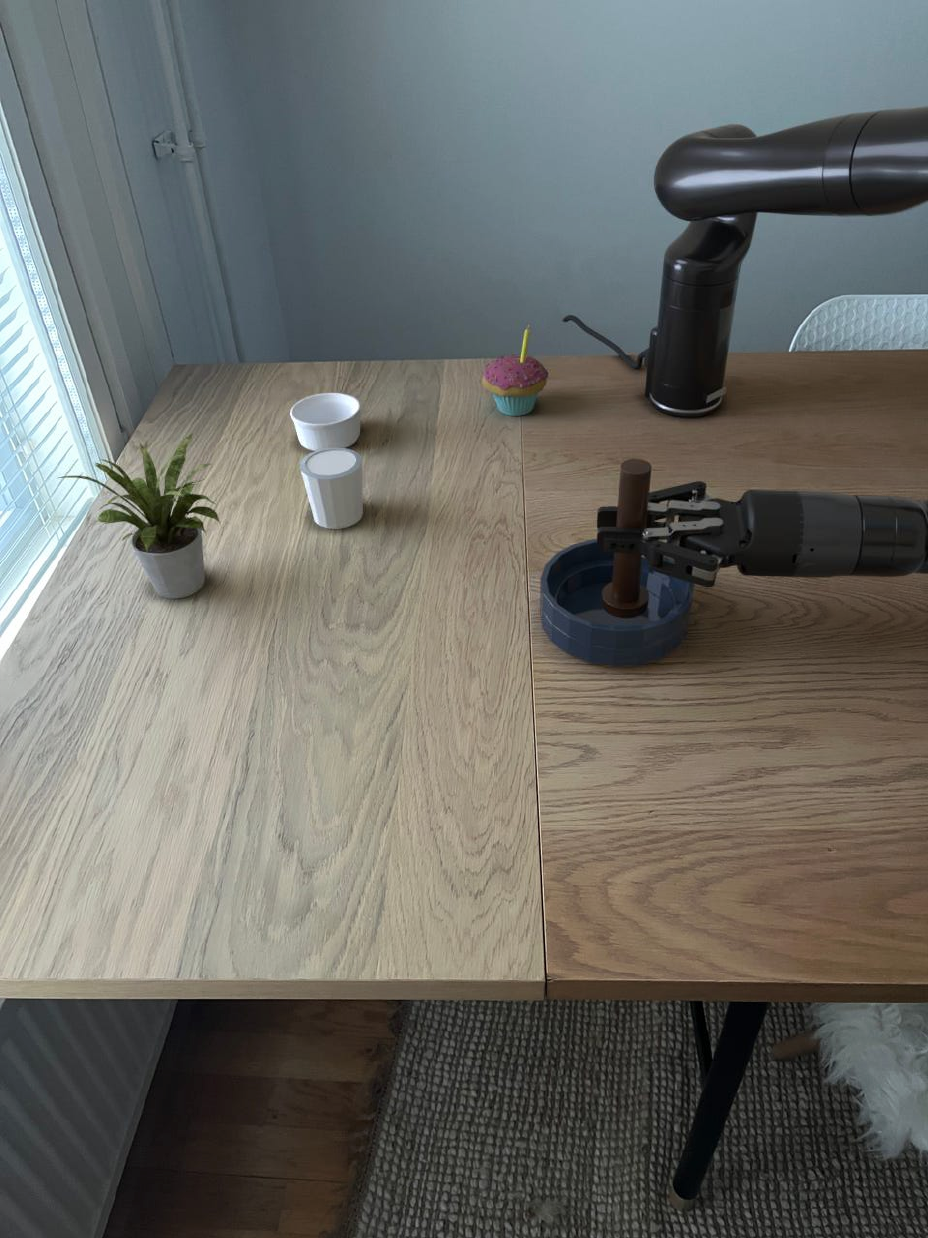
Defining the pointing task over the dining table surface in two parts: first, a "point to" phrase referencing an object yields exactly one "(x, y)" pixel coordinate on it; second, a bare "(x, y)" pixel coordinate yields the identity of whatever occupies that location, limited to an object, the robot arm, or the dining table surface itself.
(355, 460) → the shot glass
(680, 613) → the bowl
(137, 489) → the house plant
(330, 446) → the ramekin
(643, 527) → the stirrer
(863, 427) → the dining table surface
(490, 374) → the cupcake
